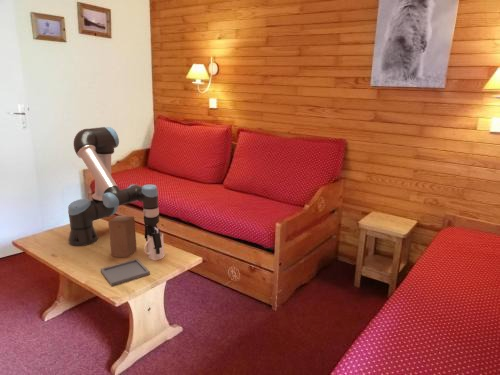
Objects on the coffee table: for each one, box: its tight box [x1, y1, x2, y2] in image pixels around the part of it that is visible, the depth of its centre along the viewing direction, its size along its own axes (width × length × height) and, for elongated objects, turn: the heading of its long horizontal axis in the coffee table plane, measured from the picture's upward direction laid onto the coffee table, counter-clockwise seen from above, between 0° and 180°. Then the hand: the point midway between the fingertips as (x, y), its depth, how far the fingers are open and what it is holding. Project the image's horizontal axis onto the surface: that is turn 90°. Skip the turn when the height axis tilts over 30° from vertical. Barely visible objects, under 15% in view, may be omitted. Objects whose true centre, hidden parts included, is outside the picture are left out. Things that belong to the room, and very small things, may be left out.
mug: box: [143, 232, 165, 261], centre depth 193 cm, size 12×8×12 cm
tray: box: [100, 258, 151, 287], centre depth 178 cm, size 16×18×2 cm
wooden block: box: [107, 214, 138, 259], centre depth 196 cm, size 10×10×20 cm
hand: (153, 255), depth 195 cm, fingers open, 9 cm apart
